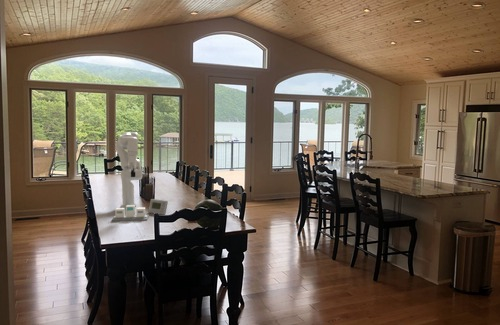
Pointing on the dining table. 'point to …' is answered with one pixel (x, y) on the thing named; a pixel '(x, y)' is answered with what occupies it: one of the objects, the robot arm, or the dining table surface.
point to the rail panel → (122, 217)
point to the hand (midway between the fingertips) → (133, 176)
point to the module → (130, 211)
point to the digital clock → (158, 206)
